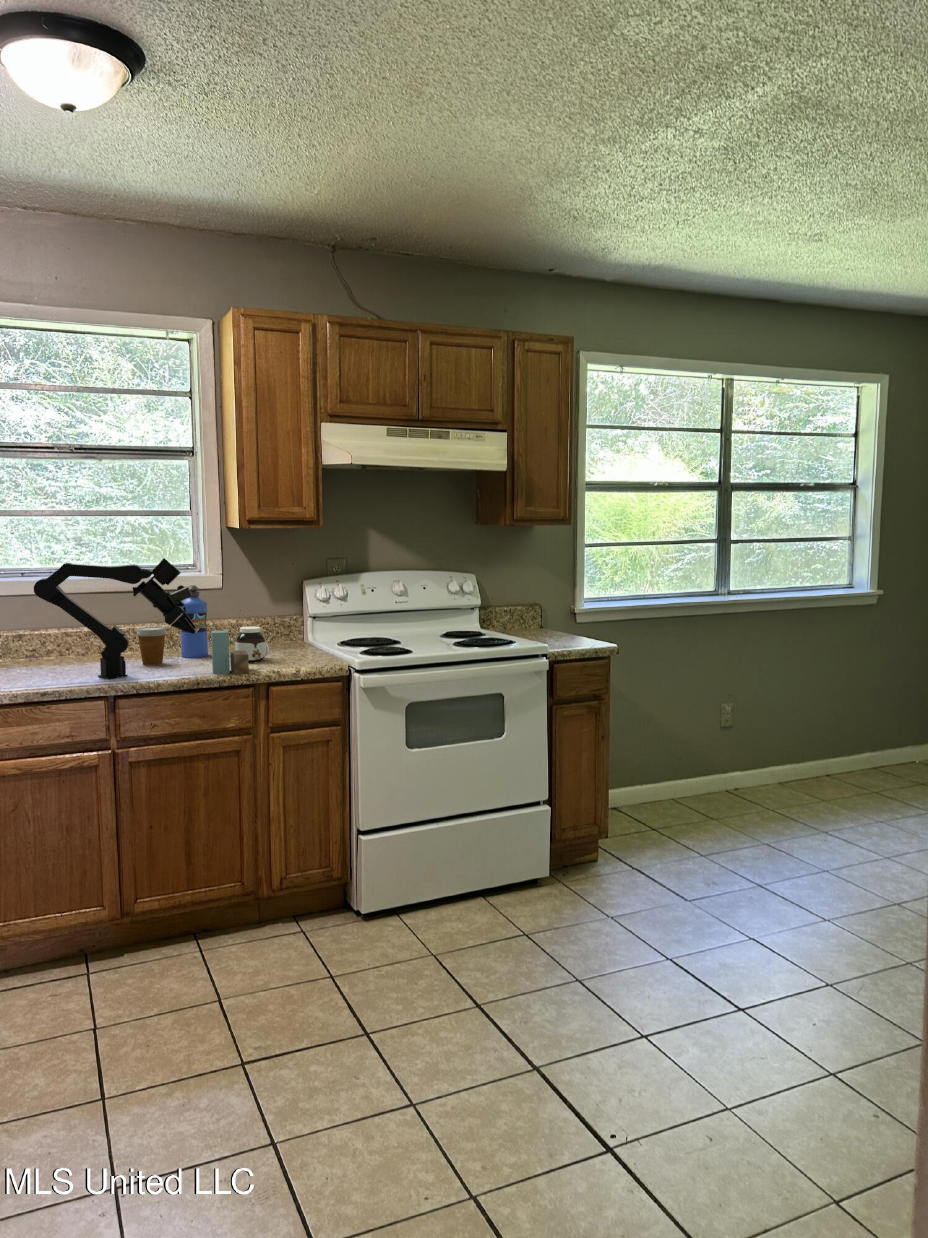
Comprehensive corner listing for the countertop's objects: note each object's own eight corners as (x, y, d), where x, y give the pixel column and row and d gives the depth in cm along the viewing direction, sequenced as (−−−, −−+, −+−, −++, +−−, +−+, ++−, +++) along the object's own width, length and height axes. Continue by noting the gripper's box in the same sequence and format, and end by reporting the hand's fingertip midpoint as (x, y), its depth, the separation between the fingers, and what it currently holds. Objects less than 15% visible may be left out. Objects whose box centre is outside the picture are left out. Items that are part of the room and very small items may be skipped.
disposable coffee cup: (131, 665, 307) (129, 629, 306) (151, 660, 316) (150, 626, 315) (153, 667, 304) (152, 630, 302) (173, 662, 312) (172, 627, 311)
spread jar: (237, 664, 311) (236, 629, 309) (232, 659, 321) (232, 625, 320) (273, 662, 315) (272, 628, 314) (267, 657, 325) (266, 624, 324)
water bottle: (176, 655, 327) (174, 585, 324) (201, 653, 333) (199, 584, 330) (187, 659, 320) (185, 587, 317) (213, 656, 326) (211, 585, 323)
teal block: (213, 673, 292) (212, 632, 290) (212, 671, 296) (211, 631, 295) (229, 673, 293) (228, 632, 292) (228, 670, 298) (227, 630, 296)
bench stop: (232, 674, 291) (232, 655, 290) (230, 669, 300) (230, 650, 300) (248, 673, 292) (248, 654, 292) (246, 668, 302) (246, 650, 301)
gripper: (175, 580, 278) (213, 616, 283) (176, 574, 296) (212, 608, 301) (148, 606, 277) (187, 642, 282) (151, 599, 295) (187, 633, 300)
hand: (194, 630), depth 291 cm, fingers open, 9 cm apart
